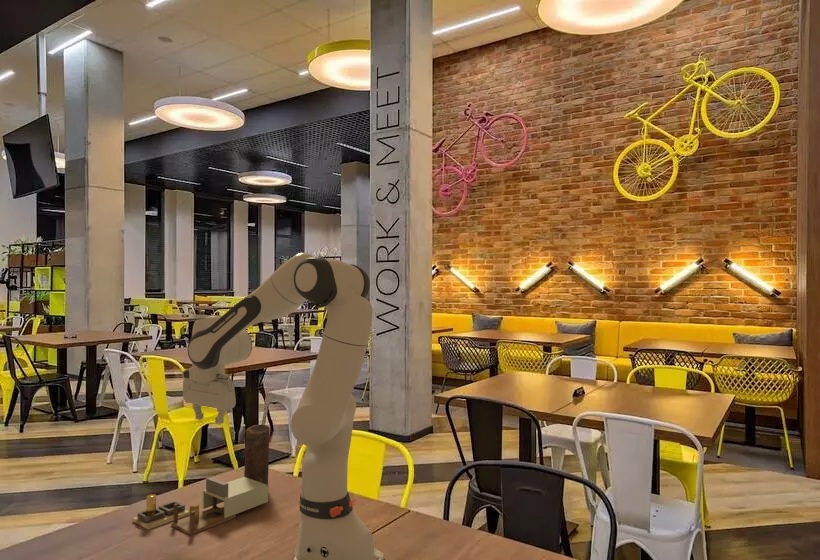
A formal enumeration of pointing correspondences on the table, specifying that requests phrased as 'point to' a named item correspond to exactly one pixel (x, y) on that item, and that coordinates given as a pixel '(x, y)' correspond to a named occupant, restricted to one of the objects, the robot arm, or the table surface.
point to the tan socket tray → (160, 515)
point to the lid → (235, 494)
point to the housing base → (199, 518)
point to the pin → (151, 505)
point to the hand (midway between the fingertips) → (209, 421)
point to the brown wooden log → (257, 453)
